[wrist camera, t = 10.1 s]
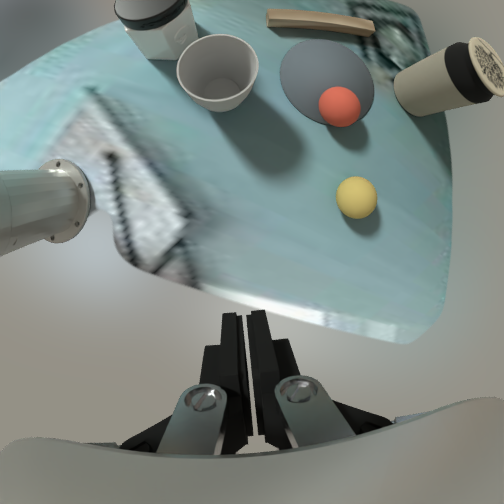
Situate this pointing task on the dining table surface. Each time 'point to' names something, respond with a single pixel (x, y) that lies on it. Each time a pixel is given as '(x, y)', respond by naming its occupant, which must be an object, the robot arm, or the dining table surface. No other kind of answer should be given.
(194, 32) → the jar
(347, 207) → the ochre ball
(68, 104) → the dining table surface
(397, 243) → the dining table surface
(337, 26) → the wooden stick
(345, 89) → the red ball
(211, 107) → the cup
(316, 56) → the slate mark
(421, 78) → the travel mug
